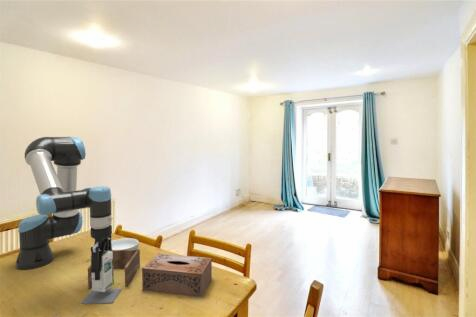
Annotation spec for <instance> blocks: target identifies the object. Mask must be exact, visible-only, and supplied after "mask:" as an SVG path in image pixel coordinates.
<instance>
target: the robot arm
mask: <svg viewBox="0 0 476 317" xmlns="http://www.w3.org/2000/svg"><path fill="white" fill-rule="evenodd" d="M85 158H86V147H85V144H84V142H83V140H82V139H81V138H79V137H73V136H42V137H39V138H36V139H35V140H32V141H31V142H30V143H29V144H28V145H27V147H26V148H25V150H24V160H25V163H26V164H27V165H29V166H30V168H31V171H32V174H33V178H34V180H35V183H36V185H37V190H38V192H39V195H37V197H36V199H35V200H36V201H35V205H36V212H37V213H38V214H36V215H31V216H28V217H26V218H23V219H22V220H20V222H19V224H18V231H17V232H18V240H19V241H18V242H19V252H18V255H17V257H16V261H15V267H16V269H18V270H33V269H37V268H41V267H43V266H46V265H48V264H50V263H51V262H53V261H54V258H55V256H54V253H53V250H52V249H51V246H50V241H49V240H52V239H57V238H62V237H66V236H71V235H75V234H79V232H80V231H81V230H82V226H83V222H84V221H83V220H84V219H83V214H82V213H81V211H80V210H83V209H89V225H90V226H89V227H90V237H91V238H92V239H94V245H93V246H91V247H90V253H91V254H90V265H91V273H94V278H95V288H97V287H103V274H102V270H101V267H102V256H103V253H104V251H106V250H109V251H112V244H111V241H112V234H113V225H112V220H113V217H112V191H111V187H109V186H94V187H85V188H83V189H80V190H77V180H78V167H79V166H81V162H82V161H83V160H85ZM52 162H53V163H52ZM53 164H54V165H55V167H56V169H57V170H55V168H54V166H53ZM49 215H50V216H49ZM100 250H101V251H100Z"/></svg>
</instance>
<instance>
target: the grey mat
mask: <svg viewBox="0 0 476 317" xmlns="http://www.w3.org/2000/svg"><path fill="white" fill-rule="evenodd" d="M121 291H122V288H112V289H110V288H109V289H108V290H106V291H105V292H99V291H93V290H92V289H90V291H89V292H88V294H86V296H85V297H84V298H83V299H82V301H81V302H80V303H79V304H80V305H96V304H99V305H100V304H101V305H102V304H113V303H114V302H115V300H116V299H117V298H118V296H119V294H120V293H121Z"/></svg>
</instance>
